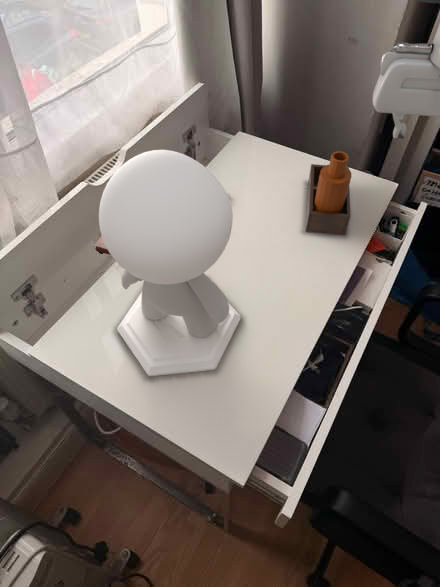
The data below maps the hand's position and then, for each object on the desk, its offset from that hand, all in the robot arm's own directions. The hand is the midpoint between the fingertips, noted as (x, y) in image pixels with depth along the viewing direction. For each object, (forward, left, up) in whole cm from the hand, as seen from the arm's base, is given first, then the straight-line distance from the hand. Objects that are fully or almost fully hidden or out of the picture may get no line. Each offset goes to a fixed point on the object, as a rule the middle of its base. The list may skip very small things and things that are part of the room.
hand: (428, 138), depth 68 cm
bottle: (+11, -8, -26) cm, 30 cm away
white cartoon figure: (+38, +23, -27) cm, 52 cm away
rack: (+11, -12, -27) cm, 32 cm away
